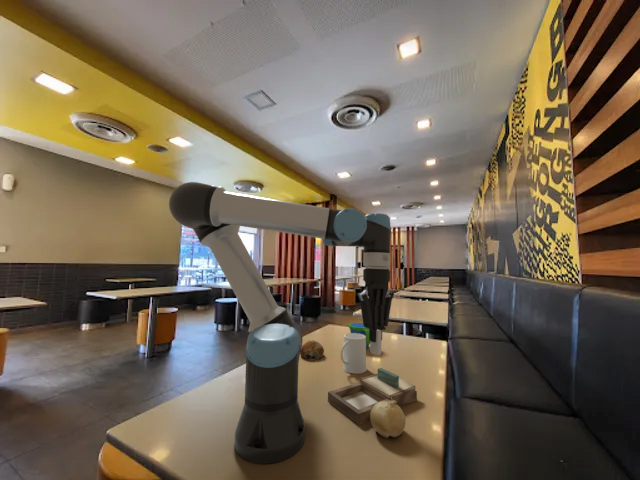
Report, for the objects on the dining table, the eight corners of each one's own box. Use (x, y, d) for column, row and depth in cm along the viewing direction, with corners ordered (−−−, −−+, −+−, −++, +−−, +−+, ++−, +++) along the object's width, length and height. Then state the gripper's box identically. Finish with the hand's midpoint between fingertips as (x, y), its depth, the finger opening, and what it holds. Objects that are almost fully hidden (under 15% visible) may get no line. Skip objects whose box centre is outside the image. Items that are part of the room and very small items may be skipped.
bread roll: (325, 365, 111) (330, 345, 115) (313, 360, 104) (318, 339, 107) (306, 360, 116) (311, 341, 120) (293, 355, 109) (299, 335, 113)
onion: (401, 448, 56) (400, 413, 57) (365, 436, 60) (365, 403, 60) (408, 428, 63) (408, 397, 63) (376, 418, 67) (376, 389, 67)
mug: (347, 378, 90) (348, 342, 91) (331, 370, 97) (332, 336, 98) (371, 370, 97) (371, 336, 98) (354, 363, 104) (354, 331, 105)
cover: (389, 398, 71) (389, 383, 72) (361, 382, 80) (361, 369, 81) (415, 388, 77) (415, 374, 78) (386, 375, 86) (386, 362, 87)
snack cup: (344, 342, 130) (344, 321, 131) (364, 341, 133) (364, 321, 134) (355, 353, 115) (355, 329, 116) (378, 351, 117) (377, 328, 118)
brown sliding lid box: (358, 424, 64) (358, 409, 64) (327, 401, 75) (328, 388, 75) (416, 400, 76) (416, 387, 76) (382, 383, 87) (382, 371, 87)
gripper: (370, 268, 69) (369, 362, 67) (401, 268, 76) (401, 353, 74) (350, 267, 75) (349, 353, 73) (381, 268, 82) (380, 346, 80)
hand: (375, 353), depth 73 cm, fingers closed
